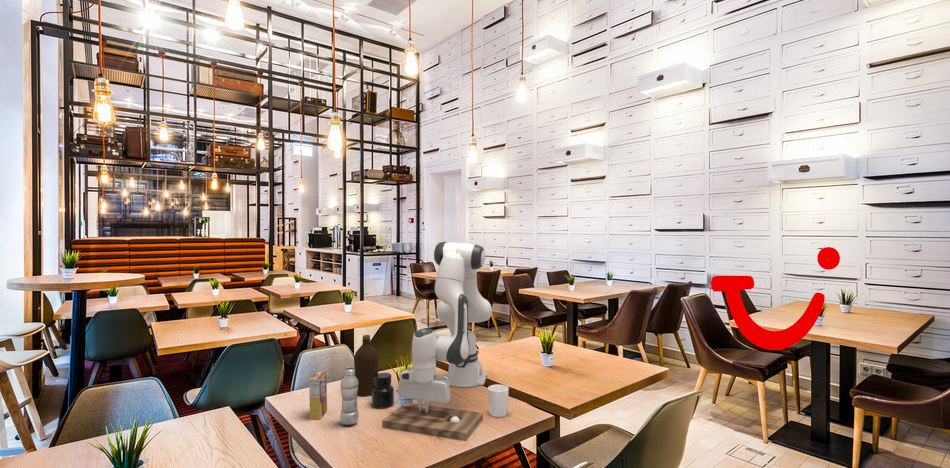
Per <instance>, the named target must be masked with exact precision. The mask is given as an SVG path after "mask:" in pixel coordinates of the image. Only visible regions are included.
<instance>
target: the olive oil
mask: <svg viewBox="0 0 950 468" xmlns="http://www.w3.org/2000/svg"><path fill="white" fill-rule="evenodd" d="M361 339H362V344H361V345H360V347H358V349H356V352H355V354H354V356H353V366H354V367H353V368H354V369H355V374H354V375H355V377H356V378H357V380H358V382H359V385H358V392H357V397H358V396H359V397H370V396H371V397H372V388H373V387H374V386H375V385H374V376H375V375H376V374H378V373H379V365H380V364H379V363H380V360H379V359H380V357H379V352H378V350H377V349H376V348H375V347H374V346H373V345H372V344H371V335H370V334H364V335H362V338H361Z"/></svg>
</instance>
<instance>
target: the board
mask: <svg viewBox="0 0 950 468" xmlns="http://www.w3.org/2000/svg"><path fill="white" fill-rule="evenodd" d="M405 403H406V404H405ZM405 403H403V404H401V405H400V406H399V407H398V408H397V409H395V410H394V411H391V413H390V414H389V415H387V416H386V417H385V418H383V419H382V422H381V425H382V427H381V428H384V429H389V428H390V429H389V430H396V431H402V432H408V433H409V432H410V433H416V434H422V435H428V436H435V437H440V438H441V437H442V438H448V439H453V440H461V441H467V440H468V439H469V438H470V437H471V435H472V434H473V433H474V431H475V430H476V429H477V428H478V426H479V425H480V424H481V423H482V421H483V420H484V419H483V418H484V414H483V412H479V411H471V410H465V409H456V408H449V407H443V406H442V407H441V406H435V405H430V406H429V411H428V412H427V413H425V412H420V411H419V406H418V404H417V403H413V402H412V403H411V402H405ZM426 405H427V404H423V406H426ZM454 416H456V417H458V418H459V419H460V421H459V422H458V423H453V422H450V419H451V418H452V417H454Z"/></svg>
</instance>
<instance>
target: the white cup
mask: <svg viewBox="0 0 950 468" xmlns="http://www.w3.org/2000/svg"><path fill="white" fill-rule="evenodd" d="M487 395H488V396H487V397H488V406H489V409H488V410H489V411H488V412H489V415H490V416H492V417H494V418H503V417H506V416H507V415H508V407H509V406H508V405H509V386H507V385H505V384H492V385H489V386H488V387H487Z"/></svg>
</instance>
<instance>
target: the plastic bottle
mask: <svg viewBox="0 0 950 468" xmlns="http://www.w3.org/2000/svg"><path fill="white" fill-rule="evenodd" d="M343 370H344V373H343V375H344V376H343V378H342V379H341V381H340V390H341V391H340V392H341V399H342V400H341V409H340V410H341V411H340V415H339V418H340V422H341V425H344V426H352V425H355V424H356V423H358V421H359V414H360V413H359V408H358V395H357V392H358V385H359V382H358V380H357V378H356V377H355V369H354V367H345V368H344V369H343Z"/></svg>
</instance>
